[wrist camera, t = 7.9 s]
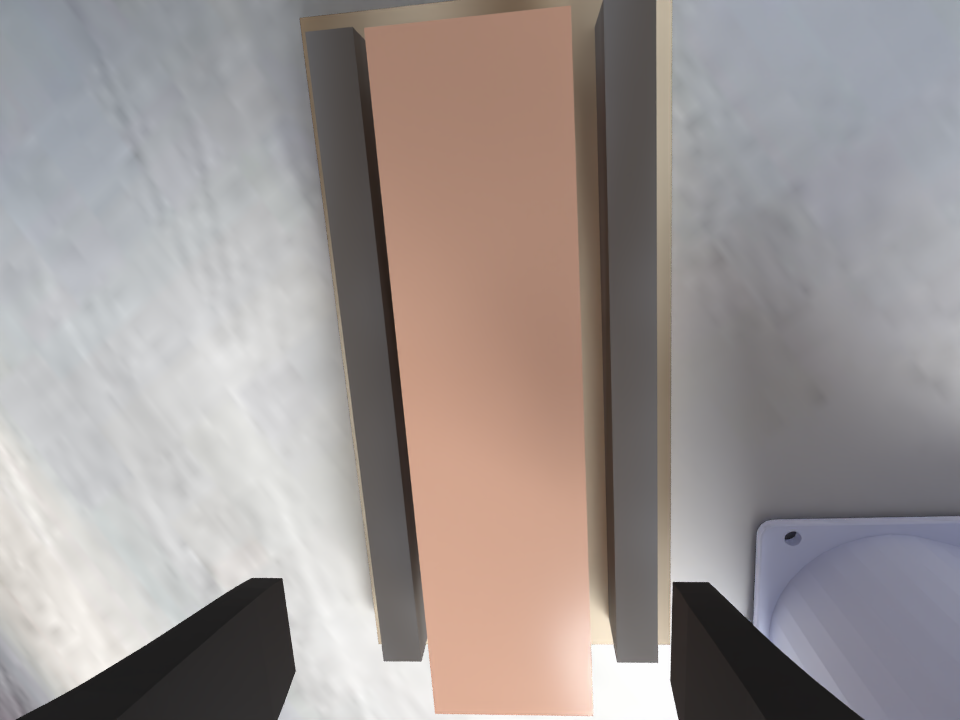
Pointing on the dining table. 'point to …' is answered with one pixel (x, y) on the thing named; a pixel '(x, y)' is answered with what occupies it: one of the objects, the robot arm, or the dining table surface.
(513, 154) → the clay block
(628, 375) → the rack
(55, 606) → the dining table surface
